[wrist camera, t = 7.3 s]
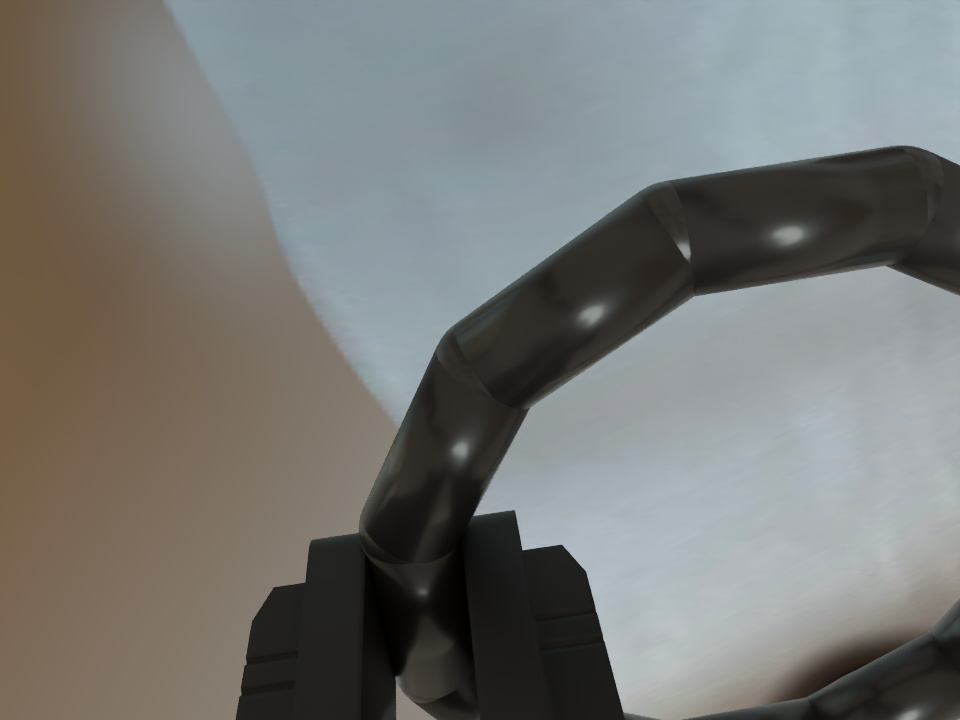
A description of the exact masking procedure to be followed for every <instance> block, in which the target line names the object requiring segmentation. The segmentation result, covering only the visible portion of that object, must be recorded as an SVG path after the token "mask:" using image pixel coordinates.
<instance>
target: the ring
mask: <svg viewBox="0 0 960 720" xmlns="http://www.w3.org/2000/svg"><path fill="white" fill-rule="evenodd" d="M880 266H887V267H890V268H892V269H894V270H897V271H899V272H902V273H904V274H907V275H909V276H912V277H914V278H917V279H919V280H922V281H924V282H927V283H929V284H932V285H934V286H936V287H939V288H941V289H944V290H946V291H949V292H951V293H954V294H956V295H959V296H960V165H958V164H956V163H953V162H951V161H949V160H947V159H945V158H943V157H940V156H938V155H936V154H934V153H932V152H929V151H927V150H924V149H921V148H918V147H914V146H889V147H883V148H876V149H870V150H863V151H857V152H851V153H844V154H838V155H831V156H825V157H818V158H812V159H805V160H799V161H792V162H786V163H779V164H773V165H767V166H760V167H754V168H747V169H741V170H734V171H728V172H721V173H715V174H708V175H702V176H696V177H689V178H683V179H676V180H670V181H664V182H659V183H656V184H653V185H651V186H648V187H647V188H645V189H643V190H641V191H640V192H638V193H637V194H635V195H634V196H632V197H631V198H630V199H628V200H627V201H626V202H624V203H623V204H621V205H620V206H619V207H617V208H616V209H614V210H613V211H612V212H610V213H609V214H607V215H606V216H605V217H603V218H602V219H601V220H599V221H598V222H596V223H595V224H594V225H592V226H591V227H589V228H588V229H587V230H585V231H584V232H582V233H581V234H580V235H578V236H577V237H576V238H574V239H573V240H571V241H570V242H569V243H567V244H566V245H564V246H563V247H562V248H560V249H559V250H557V251H556V252H555V253H553V254H552V255H551V256H549V257H548V258H546V259H545V260H544V261H542V262H541V263H539V264H538V265H537V266H535V267H534V268H532V269H531V270H530V271H528V272H527V273H526V274H524V275H523V276H521V277H520V278H519V279H517V280H516V281H514V282H513V283H512V284H510V285H509V286H508V287H506V288H505V289H503V290H502V291H501V292H499V293H498V294H496V295H495V296H494V297H492V298H491V299H489V300H488V301H487V302H485V303H484V304H483V305H481V306H480V307H478V308H477V309H476V310H474V311H473V312H471V313H470V314H469V315H467V316H466V317H464V318H463V319H462V320H460V321H459V322H458V323H456V324H455V325H454V326H452V327H451V328H450V329H449V330H448V331H447V332H446V333H445V334H444V336H443V337H442V339H441V340H440V342H439V344H438V346H437V348H436V350H435V352H434V354H433V356H432V358H431V361H430V363H429V365H428V367H427V369H426V372H425V374H424V376H423V378H422V380H421V383H420V385H419V387H418V389H417V391H416V394H415V396H414V398H413V400H412V402H411V405H410V407H409V409H408V411H407V413H406V416H405V418H404V420H403V422H402V424H401V427H400V429H399V431H398V433H397V435H396V437H395V440H394V442H393V444H392V446H391V448H390V451H389V453H388V455H387V457H386V459H385V462H384V464H383V466H382V468H381V470H380V473H379V475H378V477H377V479H376V481H375V484H374V486H373V488H372V490H371V492H370V495H369V497H368V499H367V501H366V503H365V506H364V508H363V510H362V514H361V517H360V522H359V536H360V542H361V546H362V549H363V551H364V553H365V555H366V559H367V563H368V567H369V571H370V575H371V579H372V583H373V587H374V591H375V595H376V599H377V603H378V607H379V611H380V615H381V619H382V623H383V628H384V632H385V636H386V640H387V644H388V648H389V652H390V656H391V660H392V664H393V668H394V672H395V676H396V682H397V684H398V686H399V688H400V689H401V691H402V692H403V693H404V694H405V695H406V696H407V697H408V698H409V699H410V700H412V701H413V702H414V703H415V704H417V705H418V706H419V707H421V708H422V709H424V710H425V711H426V712H427V713H429V714H430V715H431V716H433V717H434V718H435V719H437V720H480V714H479V704H478V695H477V685H476V675H475V666H474V656H473V646H472V636H471V627H470V617H469V607H468V598H467V588H466V578H465V568H464V559H463V549H462V539H461V537H462V535H463V534H464V532H465V530H466V528H467V526H468V524H469V522H470V520H471V518H472V517H473V515H474V513H475V511H476V509H477V507H478V505H479V503H480V501H481V500H482V498H483V496H484V494H485V492H486V490H487V488H488V486H489V484H490V483H491V481H492V479H493V477H494V475H495V473H496V471H497V469H498V467H499V466H500V464H501V462H502V460H503V458H504V456H505V454H506V452H507V450H508V449H509V447H510V445H511V443H512V441H513V439H514V437H515V435H516V434H517V432H518V430H519V428H520V426H521V424H522V422H523V420H524V418H525V417H526V415H527V413H528V411H529V409H530V407H531V406H533V405H534V404H536V403H537V402H539V401H540V400H542V399H543V398H545V397H546V396H548V395H549V394H551V393H552V392H554V391H555V390H557V389H558V388H560V387H561V386H562V385H564V384H565V383H567V382H568V381H570V380H571V379H573V378H574V377H576V376H577V375H579V374H580V373H582V372H583V371H585V370H586V369H588V368H589V367H591V366H592V365H593V364H595V363H596V362H598V361H599V360H601V359H602V358H604V357H605V356H607V355H608V354H610V353H611V352H613V351H614V350H616V349H617V348H619V347H620V346H622V345H623V344H624V343H626V342H627V341H629V340H630V339H632V338H633V337H635V336H636V335H638V334H639V333H641V332H642V331H644V330H645V329H647V328H648V327H650V326H651V325H653V324H654V323H655V322H657V321H658V320H660V319H661V318H663V317H664V316H666V315H667V314H669V313H670V312H672V311H673V310H675V309H676V308H678V307H679V306H681V305H682V304H684V303H685V302H686V301H688V300H689V299H691V298H692V297H694V296H699V295H705V294H712V293H718V292H724V291H730V290H737V289H743V288H749V287H755V286H762V285H768V284H774V283H780V282H787V281H793V280H799V279H805V278H812V277H818V276H824V275H830V274H837V273H843V272H849V271H855V270H862V269H868V268H874V267H880ZM623 714H624V718H625V720H660V719H655V718H650V717H644V716H639V715H634V714H629V713H624V712H623ZM958 719H960V599H959V600H958V601H957V602H956V603H955V604H954V605H953V606H952V607H951V609H950V610H949V611H948V612H947V613H946V614H945V615H944V616H943V617H942V619H941V620H940V621H939V622H938V623H937V624H936V625H935V626H934V628H933V629H932V630H930V631H928V632H926V633H925V634H923V635H921V636H919V637H917V638H915V639H913V640H912V641H910V642H908V643H906V644H904V645H902V646H900V647H899V648H897V649H895V650H893V651H891V652H889V653H887V654H886V655H884V656H882V657H880V658H878V659H876V660H875V661H873V662H871V663H869V664H867V665H865V666H863V667H862V668H860V669H858V670H856V671H854V672H852V673H850V674H849V675H847V676H845V677H843V678H841V679H839V680H837V681H836V682H834V683H832V684H830V685H828V686H826V687H825V688H823V689H821V690H819V691H817V692H815V693H813V694H812V695H810V696H808V697H806V698H801V699H795V700H790V701H784V702H778V703H773V704H767V705H762V706H756V707H751V708H745V709H739V710H734V711H728V712H723V713H717V714H711V715H706V716H700V717H695V718H689V719H684V720H958Z"/></svg>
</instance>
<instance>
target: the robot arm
mask: <svg viewBox="0 0 960 720" xmlns="http://www.w3.org/2000/svg"><path fill="white" fill-rule="evenodd" d="M461 539H462V549H463V559H464V568H465V578H466V588H467V598H468V607H469V617H470V627H471V636H472V646H473V656H474V666H475V675H476V685H477V695H478V704H479V714H480V720H625V718H624V714H623V710H622V706H621V702H620V699H619V695H618V691H617V687H616V683H615V680H614V676H613V672H612V668H611V665H610V661H609V657H608V653H607V649H606V646H605V642H604V641H603V634H602V631H601V627H600V623H599V619H598V615H597V613H596V610H595V604H594V600H593V597H592V593H591V589H590V585H589V581H588V578H587V574H586V571H585V570H584V569H583V568H582V567H581V566H580V565H579V563H578V562H577V561H576V560H575V559H574V558H573V557H572V556H571V554H570V553H569V552H568V551H567V550H566V549H565V548H564V547H563V545H556V546H550V547H543V548H536V549H529V550H523V551H522V546H521V540H520V535H519V530H518V524H517V519H516V514H515V510H512V511H505V512H498V513H491V514H484V515H478V516H473V517H472V518H471V520H470V522H469V524H468V526H467V528H466V530H465V532H464V534H463V535H462V537H461ZM246 660H247V665H245V667H244V673H243V679H242V685H241V692H242V695H241V696H240V697H239V703H238V709H237V715H236V720H396V676H395V672H394V668H393V664H392V660H391V656H390V652H389V648H388V644H387V640H386V636H385V632H384V628H383V623H382V619H381V615H380V611H379V607H378V603H377V599H376V595H375V591H374V587H373V583H372V579H371V575H370V571H369V567H368V563H367V559H366V555H365V553H364V551H363V549H362V546H361V542H360V536H359V533H356V534H349V535H342V536H335V537H329V538H322V539H315V540H312V541H311V543H310V546H309V554H308V563H307V572H306V582H305V583H300V584H294V585H287V586H281V587H274V588H273V590H272V591H271V593H270V594H269V596H268V597H267V599H266V601H265V602H264V604H263V605H262V607H261V609H260V610H259V612H258V613H257V615H256V616H255V618H254V620H253V621H252V626H251V631H250V637H249V643H248V649H247V655H246Z"/></svg>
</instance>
